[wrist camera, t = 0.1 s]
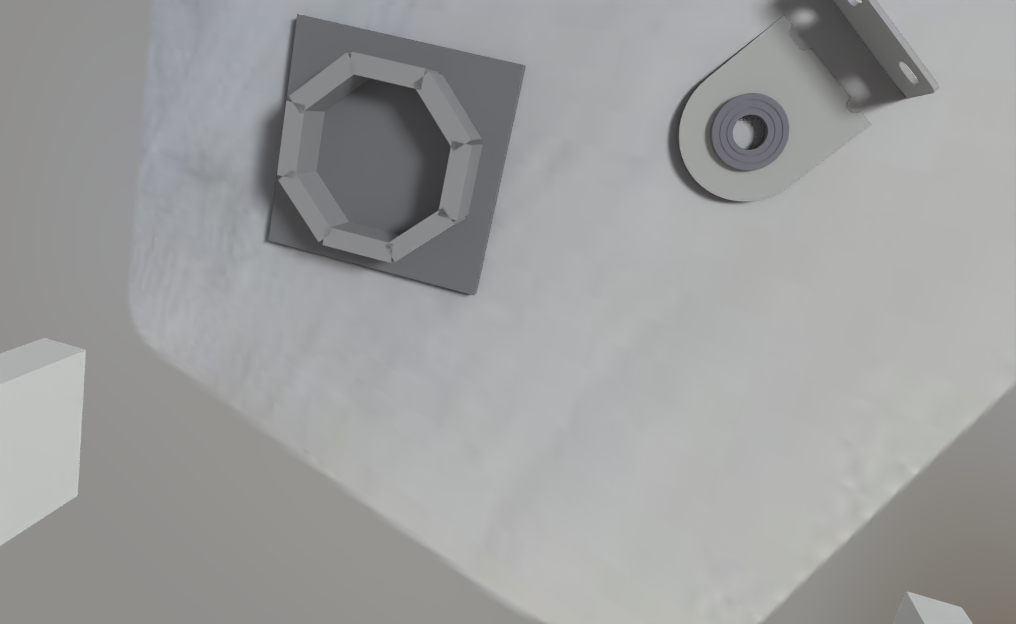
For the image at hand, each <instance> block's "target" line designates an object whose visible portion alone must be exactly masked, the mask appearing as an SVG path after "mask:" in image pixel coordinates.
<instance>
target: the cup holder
mask: <svg viewBox="0 0 1016 624" xmlns="http://www.w3.org/2000/svg"><path fill="white" fill-rule="evenodd" d="M524 71H525V66H524V65H520V64H516V63H511V62H507V61H502V60H498V59H494V58H489V57H485V56H480V55H476V54H471V53H467V52H463V51H458V50H454V49H449V48H445V47H440V46H436V45H432V44H427V43H423V42H418V41H414V40H409V39H405V38H401V37H396V36H392V35H387V34H383V33H378V32H374V31H370V30H365V29H361V28H356V27H352V26H347V25H343V24H339V23H334V22H330V21H325V20H321V19H316V18H312V17H308V16H303V15H299V14H297V21H296V29H295V37H294V45H293V52H292V60H291V68H290V76H289V84H288V92H287V99H286V107H285V115H284V123H283V131H282V138H281V146H280V154H279V162H278V170H277V178H276V186H275V193H274V201H273V209H272V217H271V225H270V233H269V240H268V241H272V242H276V243H280V244H283V245H287V246H291V247H295V248H298V249H302V250H306V251H310V252H313V253H317V254H321V255H325V256H328V257H332V258H336V259H340V260H343V261H347V262H351V263H355V264H358V265H362V266H366V267H370V268H373V269H377V270H381V271H385V272H388V273H392V274H396V275H400V276H403V277H407V278H411V279H415V280H418V281H422V282H426V283H430V284H433V285H437V286H441V287H445V288H448V289H452V290H456V291H460V292H463V293H467V294H471V295H475V294H476V293H477V288H478V284H479V279H480V274H481V270H482V265H483V261H484V256H485V251H486V247H487V242H488V237H489V233H490V228H491V224H492V219H493V214H494V210H495V205H496V200H497V196H498V191H499V187H500V182H501V177H502V173H503V168H504V163H505V159H506V154H507V150H508V145H509V140H510V136H511V131H512V126H513V122H514V117H515V113H516V108H517V103H518V99H519V94H520V89H521V85H522V80H523V76H524Z"/></svg>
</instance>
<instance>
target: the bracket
mask: <svg viewBox="0 0 1016 624" xmlns="http://www.w3.org/2000/svg"><path fill="white" fill-rule="evenodd" d="M833 1H834V2H835V4H836V5H837V6H838V8H839V9H840V10H841V12H842V13H843V14H844V16H845V17H846V18H847V20H848V21H849V23H850V24H851V25H852V27H853V28H854V29H855V31H856V32H857V33H858V35H859V36H860V37H861V39H862V40H863V41H864V43H865V44H866V46H867V47H868V48H869V50H870V51H871V52H872V54H873V55H874V56H875V58H876V59H877V60H878V62H879V63H880V64H881V66H882V67H883V69H884V70H885V71H886V73H887V74H888V75H889V77H890V78H891V79H892V81H893V82H894V83H895V85H896V86H897V87H899V88H900V90H901V91H902V92H903V94H904V95H905V97H906V98H912V97H917V96H921V95H926V94H931V93H934V92H935V91H936V90H938V89H939V85H938V83H937V82H936V80H935V79H934V77H933V76H932V75H931V73H930V72H929V71H928V69H927V68H926V67H925V65H924V64H923V62H922V61H921V60H920V58H919V57H918V56H917V54H916V53H915V52H914V50H913V49H912V48H911V46H910V45H909V43H908V42H907V41H906V39H905V38H904V37H903V35H902V34H901V33H900V31H899V30H898V29H897V27H896V26H895V24H894V23H893V22H892V20H891V19H890V18H889V16H888V15H887V14H886V12H885V11H884V9H883V8H882V7H881V5H880V4H879V3H878V1H877V0H862V3H859V2H857V1H856V0H833ZM792 25H793V24H792V23H791V22H790V20H789V19H788V18H787V17H786V15H784V16H783V17H781V18H780V19H779V20H778V21H776V22H775V23H774V24H773V25H772V26H770V27H769V28H768V29H767V30H765V31H764V32H763V33H762V34H761V35H759V36H758V37H757V38H756V39H754V40H753V41H752V42H751V43H750V44H748V45H747V46H746V47H745V48H743V49H742V50H741V51H740V52H739V53H737V54H736V55H735V56H734V57H732V58H731V59H730V60H729V61H728V62H726V63H725V64H724V65H723V66H721V67H720V68H719V69H718V70H717V71H715V72H714V73H713V74H712V75H710V76H709V77H708V78H707V79H706V80H705V81H703V82H702V83H701V84H700V85H699V86H698V87H697V89H696V90H695V91H694V92H693V94H692V95H691V97H690V98H689V100H688V101H687V104H686V106H685V108H684V110H683V113H682V116H681V119H680V125H679V137H678V139H679V148H680V152H681V156H682V159H683V162H684V164H685V166H686V168H687V170H688V171H689V173H690V174H691V176H692V177H693V178H694V180H695V181H696V182H697V183H699V184H700V185H701V186H702V187H703V188H704V189H706V190H707V191H709V192H711V193H712V194H714V195H716V196H719V197H722V198H724V199H728V200H733V201H744V202H746V201H756V200H761V199H765V198H768V197H771V196H774V195H776V194H778V193H780V192H782V191H783V190H785V189H786V188H788V187H789V186H791V185H792V184H793V183H795V182H796V181H797V180H799V179H800V178H801V177H803V176H804V175H805V174H807V173H808V172H809V171H811V170H812V169H813V168H815V167H816V166H817V165H819V164H820V163H821V162H822V161H824V160H825V159H826V158H828V157H829V156H830V155H832V154H833V153H834V152H836V151H837V150H838V149H840V148H841V147H842V146H844V145H845V144H846V143H848V142H849V141H850V140H852V139H853V138H854V137H856V136H857V135H858V134H860V133H861V132H862V131H864V130H865V129H866V128H868V127H869V126H870V125H871V123H870V122H869V121H868V119H867V118H866V117H865V116H864V114H863V113H862V112H861V111H860V112H857V113H852V112H850V111H849V110H848V108H847V101H848V99H849V98H850V97H849V95H848V94H847V93H846V91H845V90H844V89H843V88H842V86H841V85H840V84H839V83H838V81H837V80H836V79H835V77H834V76H833V75H832V74H831V72H830V71H829V70H828V69H827V67H826V66H825V65H824V64H823V62H822V61H821V60H820V58H819V57H818V56H817V55H816V53H815V52H814V51H813V50H812V48H811V49H809V50H802V49H800V48H799V47H798V45H797V44H796V43H795V41H794V40H793V39H792V37H791V36H790V29H791V27H792ZM906 65H907V66H908V67H909V68H910V69H911V70H912V72H913V73H914V75H915V76H916V77H917V79H918V80H917V79H916V78H915V77H914V76H913V74H912V73H911V72H910V70H909V69H908V67H907V66H906ZM748 115H750V116H755V117H757V118H758V119H760V120H761V121H762V123H763V125H764V128H765V135H764V138H763V140H762V142H761V143H760V144H759V145H758V146H757V147H755V148H754V149H751V150H746V149H742V148H740V147H739V146H738V145H737V144H736V143H735V141H734V139H733V128H734V125H735V123H736V122H737V121H738V120H739V119H740V118H742V117H743V116H748Z"/></svg>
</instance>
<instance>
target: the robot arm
mask: <svg viewBox="0 0 1016 624" xmlns="http://www.w3.org/2000/svg"><path fill="white" fill-rule="evenodd" d="M85 355H86V350H84V349H81V348H77V347H74V346H71V345H67V344H63V343H60V342H57V341H53V340H50V339H47V338H43V339H40V340H37V341H34V342H31V343H29V344H26V345H23V346H20V347H17V348H15V349H11V350H9V351H6V352H3V353H1V354H0V546H1V545H2V544H4V543H5V542H7V541H9V540H10V539H12V538H13V537H15V536H16V535H18V534H19V533H21V532H22V531H24V530H25V529H27V528H28V527H30V526H32V525H33V524H35V523H36V522H38V521H39V520H41V519H42V518H44V517H45V516H47V515H48V514H50V513H52V512H53V511H55V510H56V509H58V508H59V507H61V506H62V505H64V504H65V503H67V502H68V501H70V500H71V499H73V498H75V497H76V496H77V495H78V481H79V480H78V479H79V464H80V445H81V427H82V410H83V392H84V373H85ZM892 624H972V622H971V621H970V619H969V618H968V616H967V615H966V613H965V612H964V610H963V609H962V608H961V607H958V606H955V605H951V604H948V603H945V602H941V601H938V600H934V599H931V598H928V597H924V596H921V595H917V594H914V593H910V592H906V593H905V596H904V598H903V600H902V602H901V605H900V607H899V609H898V611H897V613H896V616H895V618H894V620H893V622H892Z"/></svg>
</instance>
